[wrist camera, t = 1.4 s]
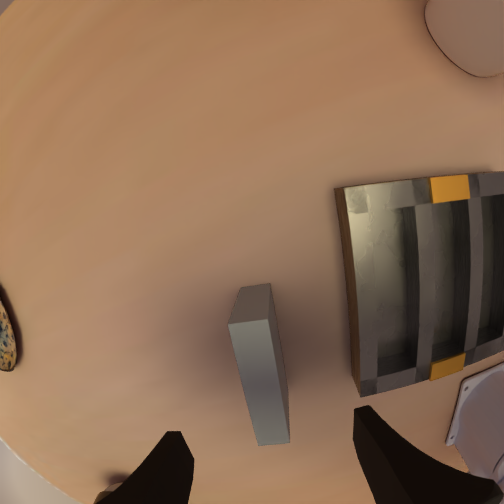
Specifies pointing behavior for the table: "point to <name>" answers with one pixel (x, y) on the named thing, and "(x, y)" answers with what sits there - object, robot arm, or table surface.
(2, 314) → the plate of food
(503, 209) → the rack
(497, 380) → the robot arm
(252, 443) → the table surface
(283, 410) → the panel
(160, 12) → the table surface
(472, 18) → the candle holder
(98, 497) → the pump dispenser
